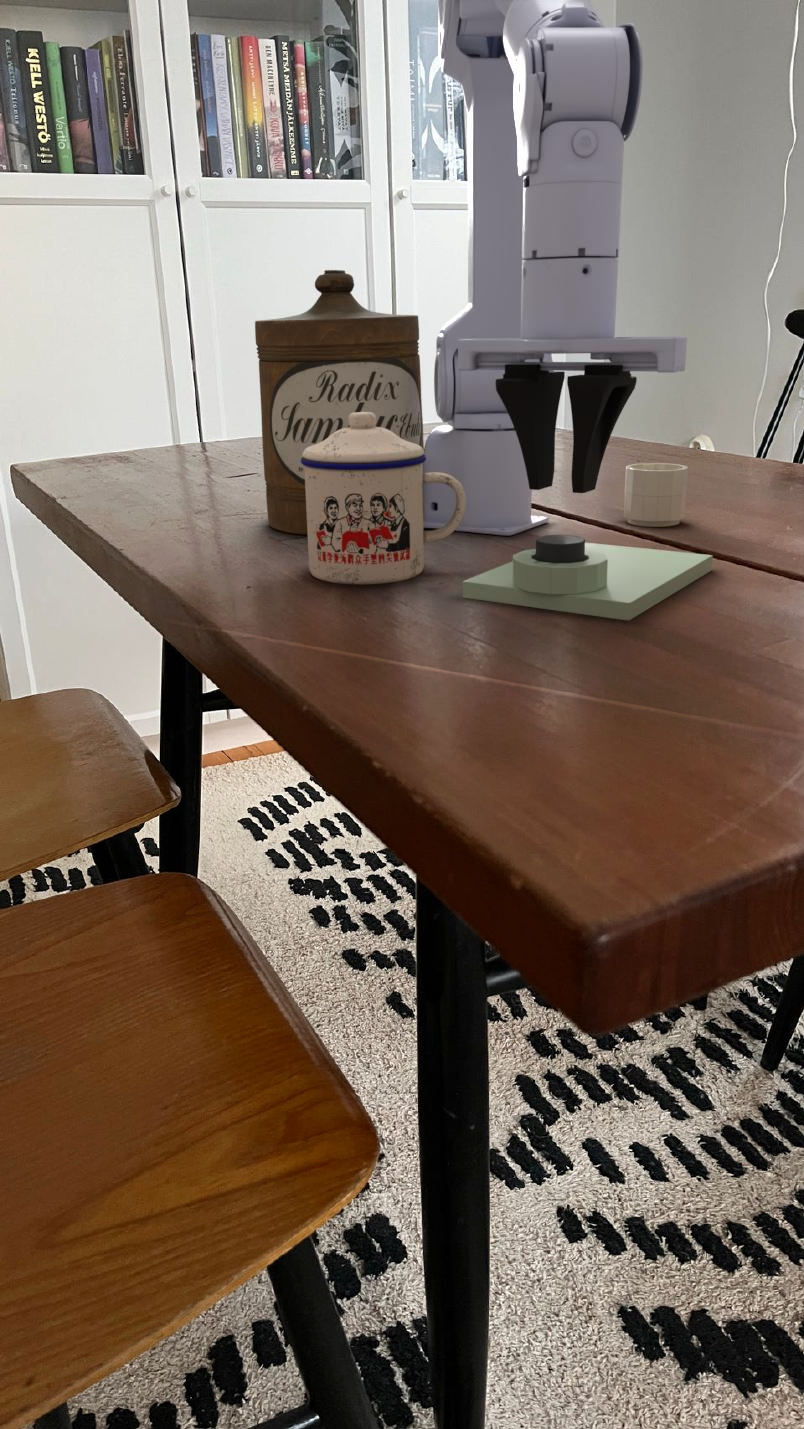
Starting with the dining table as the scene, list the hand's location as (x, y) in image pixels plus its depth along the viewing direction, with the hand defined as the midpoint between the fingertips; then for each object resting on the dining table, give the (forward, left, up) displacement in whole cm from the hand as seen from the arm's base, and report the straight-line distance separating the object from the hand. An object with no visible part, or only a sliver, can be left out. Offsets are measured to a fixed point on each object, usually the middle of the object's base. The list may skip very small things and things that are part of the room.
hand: (562, 489), depth 68 cm
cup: (-5, +30, -7) cm, 32 cm away
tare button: (0, 0, -5) cm, 5 cm away
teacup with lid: (-15, +2, -8) cm, 17 cm away
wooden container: (-30, +17, -8) cm, 36 cm away
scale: (0, +6, -7) cm, 9 cm away
